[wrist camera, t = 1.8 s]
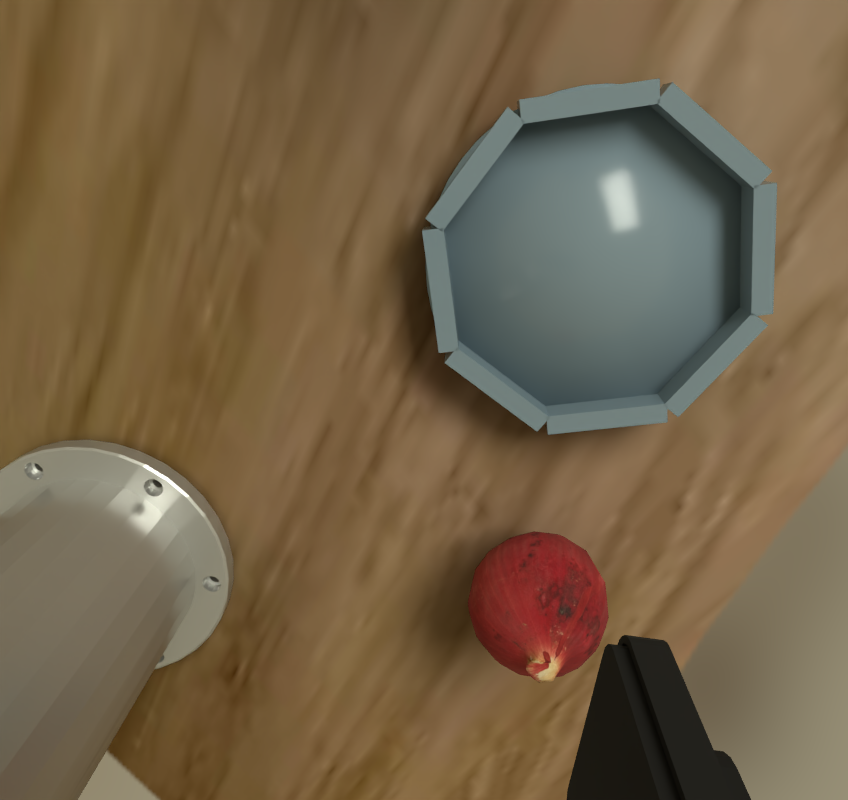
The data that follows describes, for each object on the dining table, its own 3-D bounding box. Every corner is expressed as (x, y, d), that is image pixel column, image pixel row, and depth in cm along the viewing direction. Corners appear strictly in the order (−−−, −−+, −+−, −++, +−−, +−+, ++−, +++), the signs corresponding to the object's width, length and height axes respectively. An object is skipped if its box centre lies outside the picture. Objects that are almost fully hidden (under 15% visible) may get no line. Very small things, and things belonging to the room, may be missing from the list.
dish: (601, 469, 32) (610, 492, 30) (363, 291, 30) (356, 303, 27) (829, 232, 28) (858, 239, 26) (574, 5, 25) (583, -6, 23)
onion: (514, 478, 32) (529, 581, 25) (617, 539, 33) (661, 656, 25) (446, 568, 34) (440, 689, 27) (544, 624, 35) (566, 757, 27)
